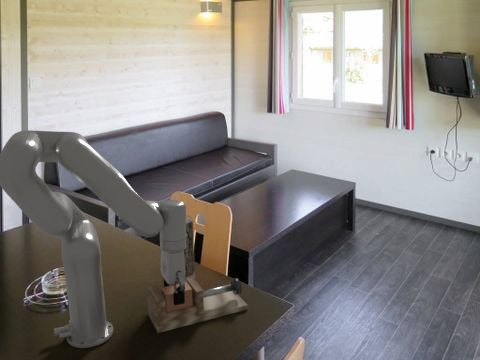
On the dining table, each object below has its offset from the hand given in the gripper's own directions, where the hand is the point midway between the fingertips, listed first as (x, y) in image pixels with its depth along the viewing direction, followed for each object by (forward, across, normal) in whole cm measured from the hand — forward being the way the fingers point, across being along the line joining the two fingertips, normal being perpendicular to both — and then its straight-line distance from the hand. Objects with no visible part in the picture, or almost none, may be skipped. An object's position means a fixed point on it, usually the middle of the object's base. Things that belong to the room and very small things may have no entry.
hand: (174, 296), depth 135 cm
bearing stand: (+7, 0, +8) cm, 10 cm away
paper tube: (+7, -16, +9) cm, 20 cm away
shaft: (+4, 0, +13) cm, 14 cm away
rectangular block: (+6, 0, +1) cm, 6 cm away
